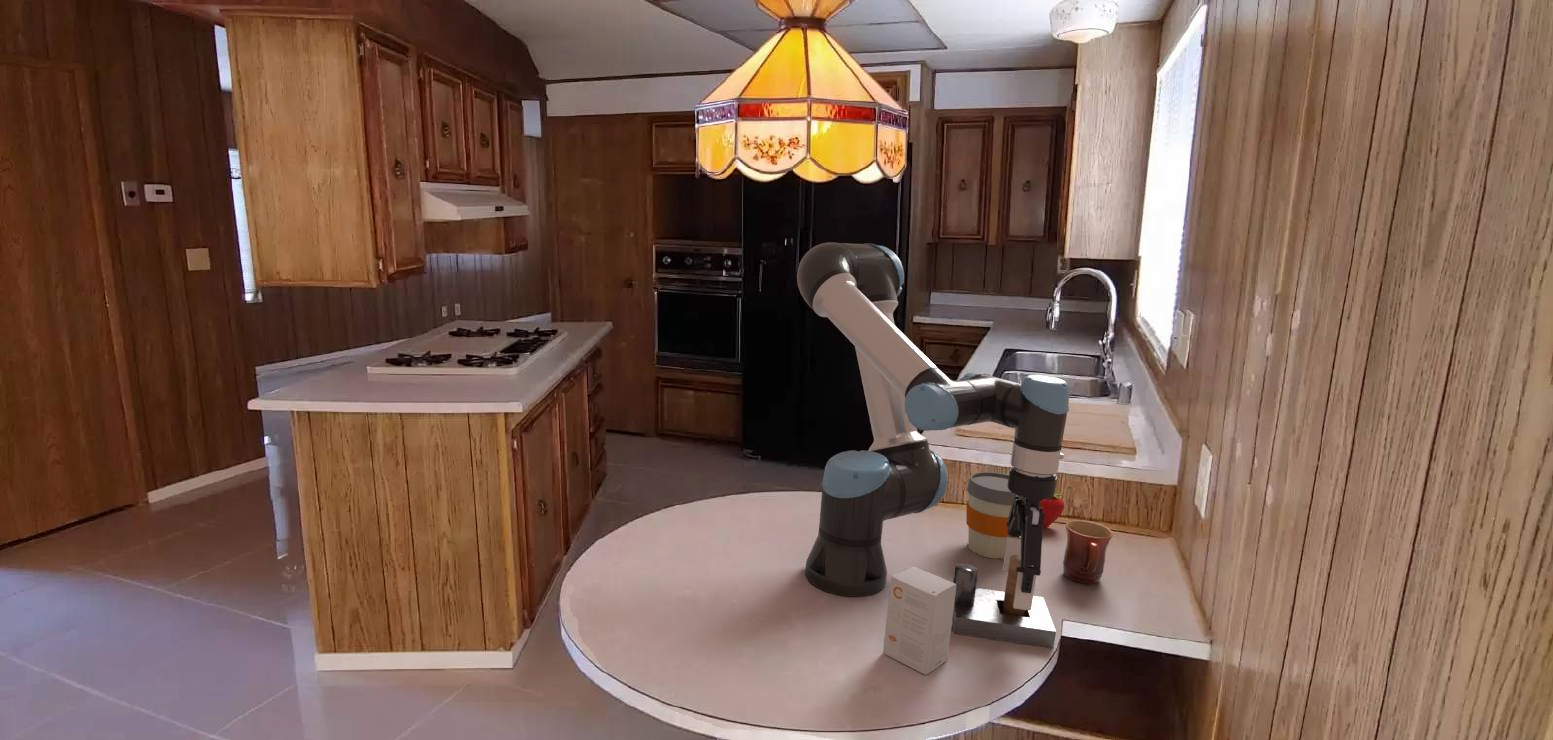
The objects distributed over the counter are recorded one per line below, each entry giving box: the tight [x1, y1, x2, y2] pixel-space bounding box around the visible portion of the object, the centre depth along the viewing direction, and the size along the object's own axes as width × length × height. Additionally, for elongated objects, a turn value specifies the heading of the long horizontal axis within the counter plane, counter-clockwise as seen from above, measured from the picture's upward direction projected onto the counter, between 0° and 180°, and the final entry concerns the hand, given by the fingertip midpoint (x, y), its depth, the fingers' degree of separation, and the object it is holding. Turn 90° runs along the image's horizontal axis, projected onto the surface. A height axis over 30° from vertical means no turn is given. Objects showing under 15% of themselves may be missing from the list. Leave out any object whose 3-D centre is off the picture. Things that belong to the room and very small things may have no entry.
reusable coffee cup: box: [965, 471, 1015, 559], centre depth 166 cm, size 13×13×15 cm
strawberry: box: [1040, 492, 1065, 528], centre depth 181 cm, size 6×8×10 cm
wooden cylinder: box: [1002, 555, 1031, 617], centre depth 135 cm, size 4×4×12 cm
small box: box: [882, 566, 956, 676], centre depth 123 cm, size 8×6×13 cm
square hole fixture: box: [952, 563, 1057, 649], centre depth 136 cm, size 16×12×9 cm
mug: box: [1062, 519, 1114, 585], centre depth 155 cm, size 12×9×10 cm
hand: (1015, 589), depth 135 cm, fingers open, 13 cm apart
